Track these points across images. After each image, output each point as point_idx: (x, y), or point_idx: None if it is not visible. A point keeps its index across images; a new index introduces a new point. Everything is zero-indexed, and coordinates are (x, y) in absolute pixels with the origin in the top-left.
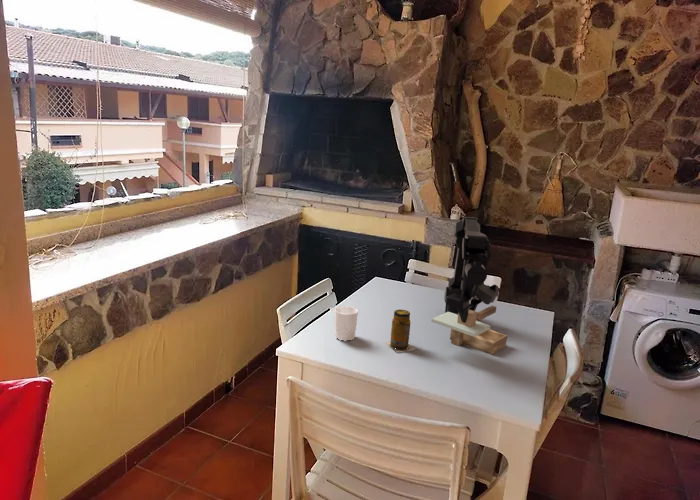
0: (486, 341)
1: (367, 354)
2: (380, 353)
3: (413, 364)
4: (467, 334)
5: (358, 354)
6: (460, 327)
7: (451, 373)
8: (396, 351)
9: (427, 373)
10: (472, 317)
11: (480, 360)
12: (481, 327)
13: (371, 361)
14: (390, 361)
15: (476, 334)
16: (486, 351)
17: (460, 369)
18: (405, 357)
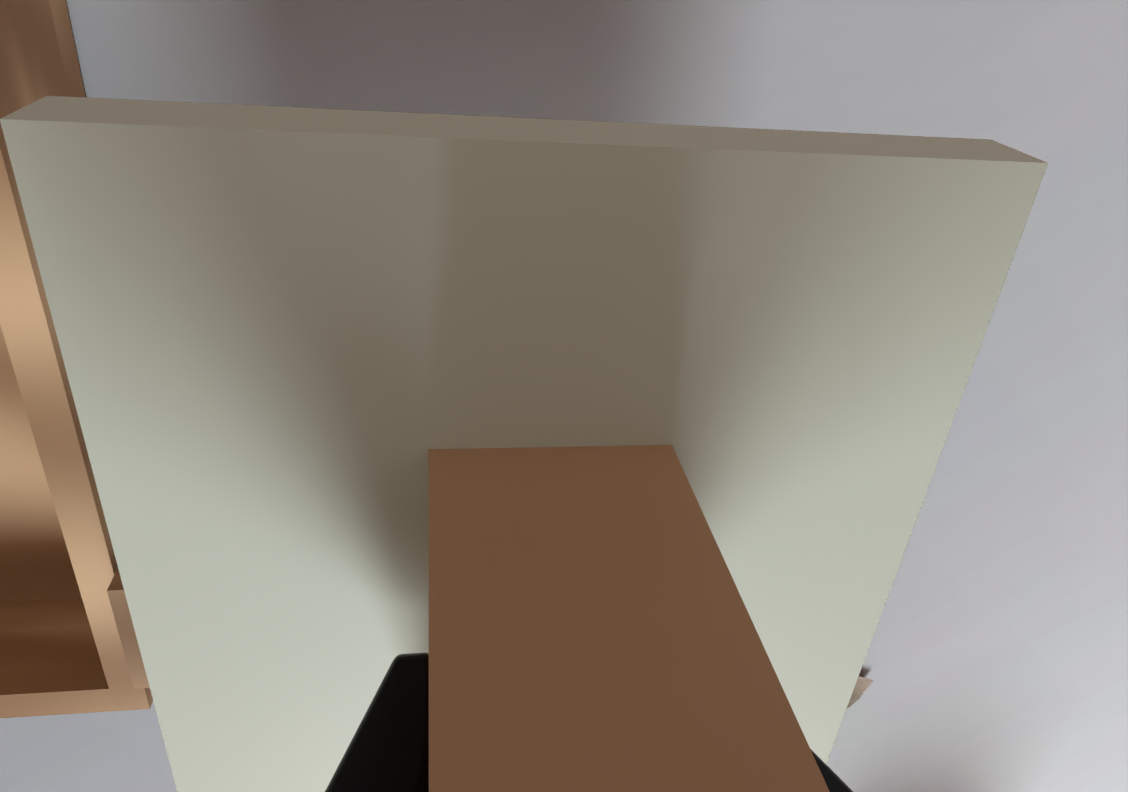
0: (5, 160)
1: (1011, 758)
2: (946, 729)
3: (1002, 495)
4: (95, 502)
5: (1041, 783)
6: (830, 578)
7: (1008, 137)
8: (859, 693)
9: (1124, 318)
10: (747, 672)
11: (400, 32)
12: (444, 260)
13: (1107, 689)
14: (1041, 623)
15: (931, 146)
16: (73, 94)
17: (848, 108)
18: (906, 602)
